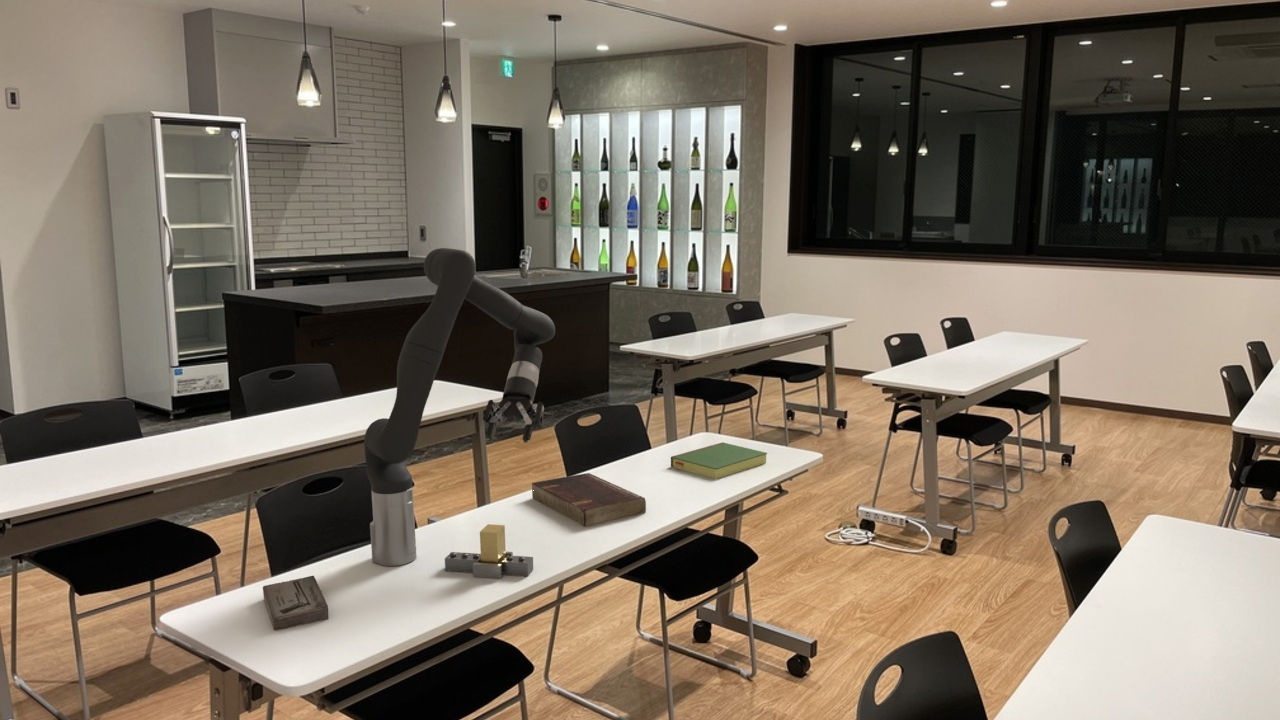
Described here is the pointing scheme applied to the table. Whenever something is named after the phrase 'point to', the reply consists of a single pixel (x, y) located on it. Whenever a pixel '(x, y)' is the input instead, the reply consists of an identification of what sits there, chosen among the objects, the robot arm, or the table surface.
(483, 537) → the brass rectangular block
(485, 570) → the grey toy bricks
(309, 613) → the box
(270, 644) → the table surface
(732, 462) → the hardcover book
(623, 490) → the hardback book
